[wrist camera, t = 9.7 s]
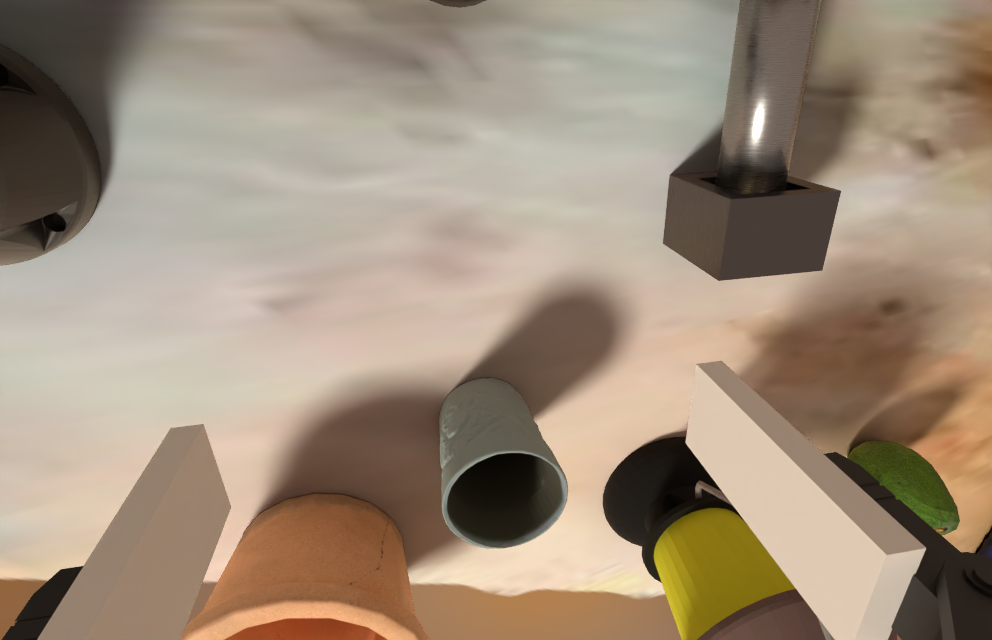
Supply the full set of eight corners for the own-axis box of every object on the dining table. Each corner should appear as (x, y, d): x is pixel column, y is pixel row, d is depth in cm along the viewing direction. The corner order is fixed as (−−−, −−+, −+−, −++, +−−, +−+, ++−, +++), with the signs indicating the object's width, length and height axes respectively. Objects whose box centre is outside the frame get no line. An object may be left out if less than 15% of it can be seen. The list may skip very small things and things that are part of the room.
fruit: (844, 423, 61) (939, 498, 51) (901, 426, 63) (1004, 500, 52) (816, 478, 64) (899, 560, 54) (871, 479, 66) (962, 559, 55)
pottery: (176, 499, 52) (101, 643, 39) (404, 450, 53) (406, 572, 40) (252, 641, 61) (213, 794, 48) (444, 595, 63) (455, 731, 50)
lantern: (632, 381, 54) (859, 690, 27) (786, 410, 59) (1106, 696, 32) (552, 560, 63) (664, 924, 36) (691, 572, 68) (880, 900, 41)
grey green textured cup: (430, 374, 50) (438, 458, 39) (536, 365, 52) (572, 443, 41) (436, 461, 54) (445, 558, 44) (534, 450, 56) (566, 541, 45)
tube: (754, 211, 46) (794, 227, 41) (698, 216, 45) (731, 232, 40) (803, -78, 37) (860, -98, 32) (734, -77, 36) (782, -97, 32)
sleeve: (663, 243, 48) (718, 280, 40) (669, 175, 46) (730, 199, 37) (750, 235, 49) (822, 270, 41) (761, 168, 47) (840, 190, 38)
